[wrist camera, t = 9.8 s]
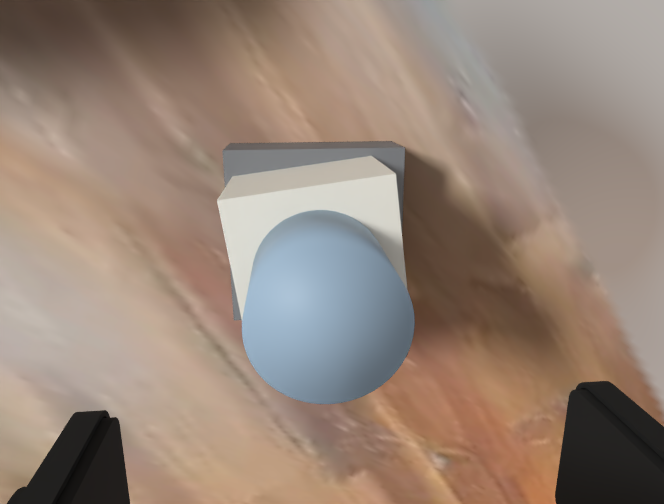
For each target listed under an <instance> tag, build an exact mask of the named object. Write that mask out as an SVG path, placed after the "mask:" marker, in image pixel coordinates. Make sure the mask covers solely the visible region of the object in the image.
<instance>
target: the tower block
mask: <svg viewBox="0 0 664 504" xmlns="http://www.w3.org/2000/svg"><path fill="white" fill-rule="evenodd" d="M217 203H218V207H219V212H220V217H221V222H222V227H223V232H224V237H225V241H226V246H227V251H228V256H229V261H230V266H231V271H232V275H233V280H234V285H235V290H236V295H237V300H238V305H239V309H240V314H241V319H243V312H244V307H245V302H246V297H247V292H248V287H249V282H250V276H251V271H252V266H253V262H254V258H255V255H256V252H257V250H258V248H259V246H260V244H261V242H262V241H263V239H264V238H265V237H266V235H267V234H268V233H269V232H270V231H271V230H272V229H273V228H274V227H275V226H276V225H278V224H279V223H280V222H282V221H283V220H285V219H287V218H289V217H291V216H293V215H296V214H298V213H302V212H306V211H312V210H329V211H336V212H339V213H343V214H346V215H348V216H350V217H352V218H354V219H356V220H357V221H359V222H361V223H362V224H363V225H364V226H366V227H367V228H368V229H369V230H370V231H371V232H372V234H373V235H374V236H375V238H376V239H377V241H378V242H379V244H380V245H381V247H382V249H383V250H384V252H385V254H386V255H387V257H388V259H389V260H390V262H391V264H392V265H393V267H394V269H395V270H396V272H397V273H398V275H399V277H400V278H401V280H402V282H403V283H404V285H405V287H406V289H407V281H406V271H405V261H404V251H403V241H402V231H401V221H400V211H399V200H398V190H397V180H396V173H394V172H393V171H392V170H390V169H389V168H388V167H386V166H385V165H384V164H382V163H381V162H379V161H378V160H377V159H375V158H374V157H373V156H367V157H360V158H353V159H346V160H340V161H333V162H326V163H320V164H313V165H306V166H299V167H293V168H286V169H279V170H272V171H266V172H259V173H252V174H246V175H239V176H232V178H231V179H230V181H229V182H228V184H227V186H226V187H225V189H224V190H223V192H222V193H221V195H220V197H219V198H218V200H217Z"/></svg>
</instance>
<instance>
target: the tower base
mask: <svg viewBox="0 0 664 504" xmlns="http://www.w3.org/2000/svg"><path fill="white" fill-rule="evenodd" d="M367 156H373V157H374V158H375V159H377V160H378V161H379V162H381V163H382V164H384V165H385V166H386V167H388V168H389V169H390V170H392V171H393V172H394V173H396V180H397V190H398V200H399V211H400V221H401V231H402V221H403V191H404V162H405V147H403V146H400V145H398V144H396V143H394V142H392V141H368V142H297V143H230V144H229V145H228V146H227V147H226V148H225V149H223V165H224V180H225V187H226V186H227V184H228V182H229V181H230V179H231V178H232V176H239V175H246V174H252V173H259V172H266V171H272V170H279V169H286V168H293V167H299V166H306V165H313V164H320V163H326V162H333V161H340V160H346V159H353V158H360V157H367ZM230 270H231V266H230ZM231 285H232V300H233V315H234V320H242V319H241V314H240V309H239V305H238V300H237V295H236V290H235V285H234V280H233V275H232V271H231Z"/></svg>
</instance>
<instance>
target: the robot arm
mask: <svg viewBox="0 0 664 504" xmlns="http://www.w3.org/2000/svg"><path fill="white" fill-rule="evenodd" d="M555 498H556V504H664V427H663V426H662V425H661V424H660V423H658V422H657V421H656V420H655V419H654V418H652V417H651V416H650V415H649V414H648V413H647V412H645V411H644V410H643V409H642V408H641V407H639V406H638V405H637V404H636V403H635V402H633V401H632V400H631V399H630V398H629V397H628V396H626V395H625V394H624V393H623V392H622V391H620V390H619V389H618V388H617V387H616V386H614V385H613V384H612V383H610V382H609V381H599V382H582V383H580V384H578V386H577V387H576V390H573V391H571V393H570V395H569V401H568V408H567V415H566V422H565V429H564V436H563V443H562V450H561V457H560V464H559V471H558V478H557V485H556V492H555ZM7 504H130V499H129V492H128V484H127V477H126V469H125V462H124V454H123V447H122V439H121V432H120V424H119V420H118V418H116V417H114V418H110V416H109V414H108V412H107V411H106V410H104V411H87V412H76V413H74V414H73V415H72V417H71V418H70V420H69V422H68V423H67V425H66V426H65V428H64V429H63V431H62V432H61V434H60V436H59V437H58V439H57V440H56V442H55V443H54V445H53V446H52V448H51V450H50V451H49V453H48V454H47V456H46V457H45V459H44V461H43V462H42V464H41V465H40V467H39V468H38V470H37V471H36V473H35V475H34V476H33V478H32V479H31V481H30V482H29V484H28V486H27V487H22V488H20V489H18V490H17V491H16V492H15V493H14V494H13V495H12V497H11V498H10V500H9V501H8V503H7Z"/></svg>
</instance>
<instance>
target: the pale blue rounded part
mask: <svg viewBox="0 0 664 504" xmlns="http://www.w3.org/2000/svg"><path fill="white" fill-rule="evenodd" d="M414 326H415V321H414V310H413V305H412V301H411V298H410V295H409V293H408V291H407V289H406V287H405V285H404V283H403V282H402V280H401V278H400V277H399V275H398V273H397V272H396V270H395V269H394V267H393V265H392V264H391V262H390V260H389V259H388V257H387V255H386V254H385V252H384V250H383V249H382V247H381V245H380V244H379V242H378V241H377V239H376V238H375V236H374V235H373V234H372V232H371V231H370V230H369V229H368V228H367V227H366V226H364V225H363V224H362V223H361V222H359V221H357V220H356V219H354V218H352V217H350V216H348V215H346V214H343V213H339V212H336V211H329V210H312V211H306V212H302V213H298V214H296V215H293V216H291V217H289V218H287V219H285V220H283V221H282V222H280V223H279V224H278V225H276V226H275V227H274V228H273V229H272V230H271V231H270V232H269V233H268V234H267V235H266V237H265V238H264V239H263V241H262V242H261V244H260V246H259V248H258V250H257V252H256V255H255V258H254V262H253V266H252V271H251V276H250V282H249V287H248V292H247V297H246V302H245V307H244V312H243V319H242V337H243V343H244V347H245V350H246V353H247V356H248V358H249V360H250V362H251V364H252V365H253V367H254V368H255V370H256V371H257V373H258V374H259V375H260V376H261V377H262V378H263V380H265V381H266V382H267V383H268V384H269V385H270V386H271V387H273V388H274V389H276V390H277V391H279V392H281V393H283V394H284V395H286V396H288V397H291V398H294V399H296V400H299V401H304V402H308V403H315V404H335V403H342V402H347V401H351V400H354V399H357V398H360V397H362V396H364V395H366V394H368V393H370V392H372V391H374V390H375V389H377V388H378V387H380V386H381V385H383V384H384V383H385V382H386V381H387V380H389V379H390V378H391V377H392V375H393V374H394V373H395V372H396V371H397V370H398V368H399V367H400V366H401V364H402V363H403V361H404V359H405V357H406V356H407V354H408V351H409V349H410V346H411V343H412V339H413V335H414Z"/></svg>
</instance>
